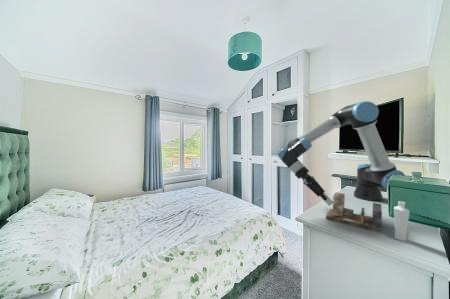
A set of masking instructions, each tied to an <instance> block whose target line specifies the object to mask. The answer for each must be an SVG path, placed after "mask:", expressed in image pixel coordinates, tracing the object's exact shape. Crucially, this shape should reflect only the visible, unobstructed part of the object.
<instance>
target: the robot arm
mask: <svg viewBox="0 0 450 299" xmlns="http://www.w3.org/2000/svg"><path fill="white" fill-rule="evenodd" d="M379 112H380V110H379V108H378V106H377V104H375V103H374V102H372V101H367V100H366V101H358V102H357V103H354V104H350V105H347V106H344V107H343V108H341V109H339V110H337V111H336V112H334V113H333V114H331V115H330V116H329V118H328V119H326V120H324V121H323V122H321V123H319V124H318V125H316V126H315V127H313V128H311V129H309V130H308V131H306V132H305V133H303V134H301V135H300V136H298V137H297V138H295V139H293V140H289V141H287V143H286V145H285V147H283V148H282V149H280V150H279V151H278V153H277V157H278V158H279V160H281V162H282V163H283V164H284V165H285V166H286V167H287V168H288V169H289V171H290V172H291V173H292V174H294V176H295V177H296V178H297V179H299V180H300V179H302V181H303V183H302V184H303V185H305V187H307V188H308V189H309V190H311V191H312V193H313V194H314V195H315V196H317V197H320V198H321V199H322V200H323V201H324V202H325V203H326V204H327V205H328V206H329V207H330V206H333V199H332V198H330V197H329V195H327V194H326V193H325V192H326V190H324V188H323V187H322V185H320V183H319V182H318V181H317V180H316V179H315V177H314V176H313V175H310V174H309V172H310V170H309V169H308V168H307V167H306V166H305V164H303V163H302V162H301V161H300V160H299V157H301V156H302V155H304V154H305V153H306V152H307V151H309V150H310V149H311V148H312V146H313V144H312V143H313V142H314V141H316V140H318V139H320V138H321V137H323V136H325V135H326V134H329V133H330V132H332V131H333V130H335V129H339V128H342V127H344V126H347V125H351V128H352V129H353V130H356V132H357V134H358V136H359V138H360V141H361V143H362V146H363V148H364V150H365V153H366V155H367V158H368V161H369V163H359V164H357V168H356V170H357V171H356V172H357V173H356V178H357V179H356V186H355V189H354V191H353V196H354V198H358V199H360V200H364V201H371V202H380V201H383V200H384V199H383V195H382V194H383V193H382V191H381V188H382V189H383V188H384V189H385V190H387V183H388V180H389V179H390V177H391V176H392V175H402V176H405V177H406V175H405V173H404V172H403V171H401V170H398V169H397V167H396V164H395V163H394V162H391V161H390V158H389V156H388V153H387V152H386V149H385V146H384V143H383V142H382V138H381V136H380V134H379V131H378V130H377V129H378V128H377V127H376V124H377V122H378V120H377V118H378V116H379V114H380V113H379Z"/></svg>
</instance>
